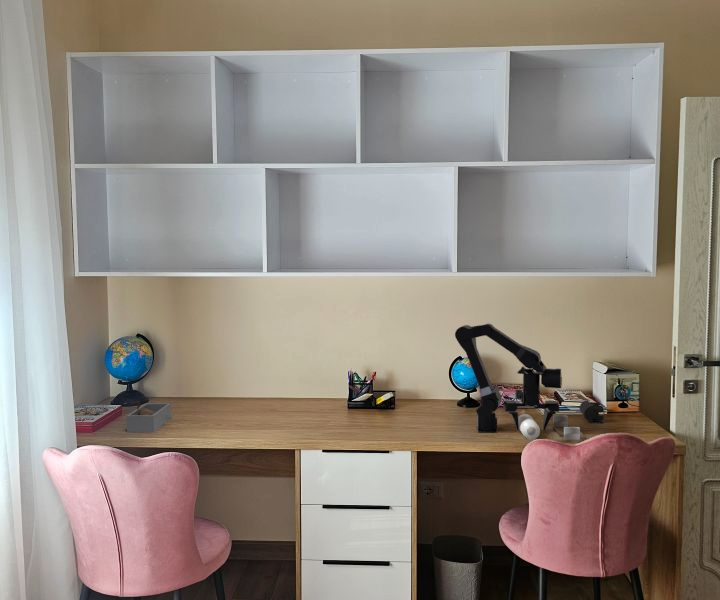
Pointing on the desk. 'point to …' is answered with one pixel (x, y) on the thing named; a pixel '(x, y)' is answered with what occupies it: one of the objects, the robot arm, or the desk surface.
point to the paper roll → (528, 426)
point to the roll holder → (564, 431)
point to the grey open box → (144, 410)
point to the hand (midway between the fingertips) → (530, 430)
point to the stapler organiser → (149, 418)
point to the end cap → (592, 411)
